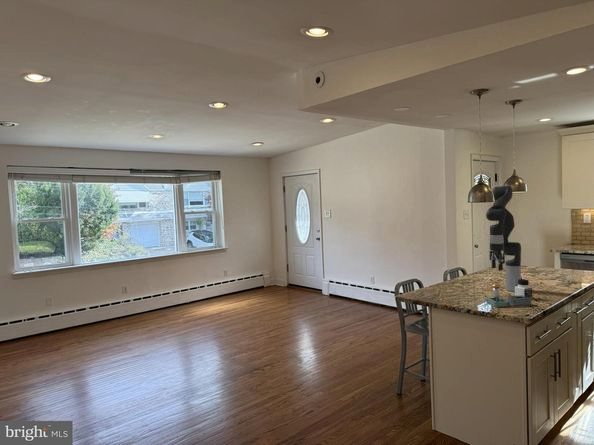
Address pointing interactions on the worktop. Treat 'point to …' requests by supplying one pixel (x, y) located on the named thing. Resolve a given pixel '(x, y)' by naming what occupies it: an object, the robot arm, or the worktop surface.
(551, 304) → the worktop surface
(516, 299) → the block
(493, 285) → the brass-capped metal pin
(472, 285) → the worktop surface
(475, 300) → the worktop surface
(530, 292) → the medicine bottle
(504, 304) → the tray
